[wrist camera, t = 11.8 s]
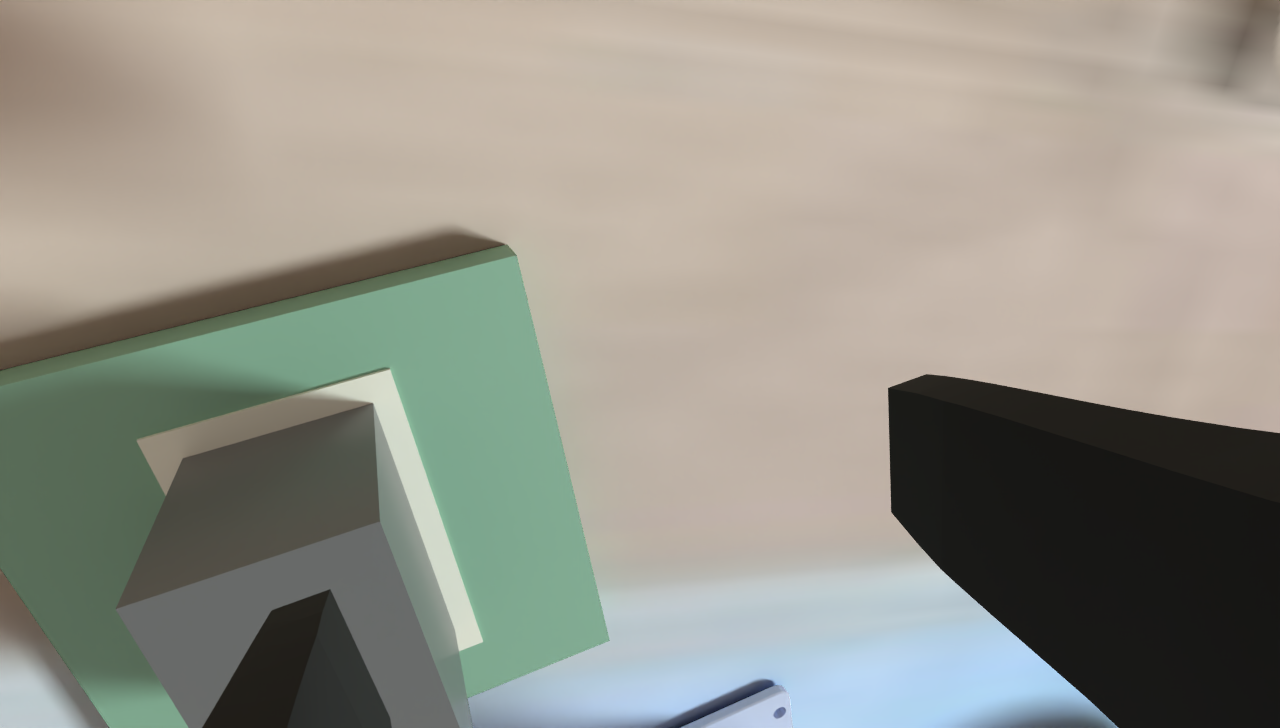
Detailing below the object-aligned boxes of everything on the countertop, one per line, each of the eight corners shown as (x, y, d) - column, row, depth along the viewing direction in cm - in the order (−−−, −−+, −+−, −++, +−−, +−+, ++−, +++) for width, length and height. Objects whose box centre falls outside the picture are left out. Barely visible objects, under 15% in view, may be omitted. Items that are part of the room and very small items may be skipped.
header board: (598, 614, 23) (638, 704, 19) (181, 778, 20) (147, 917, 16) (506, 244, 18) (541, 283, 14) (-73, 388, 15) (-195, 478, 11)
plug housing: (455, 629, 19) (484, 790, 15) (299, 689, 18) (282, 879, 14) (373, 403, 17) (380, 521, 12) (182, 458, 16) (115, 608, 11)
